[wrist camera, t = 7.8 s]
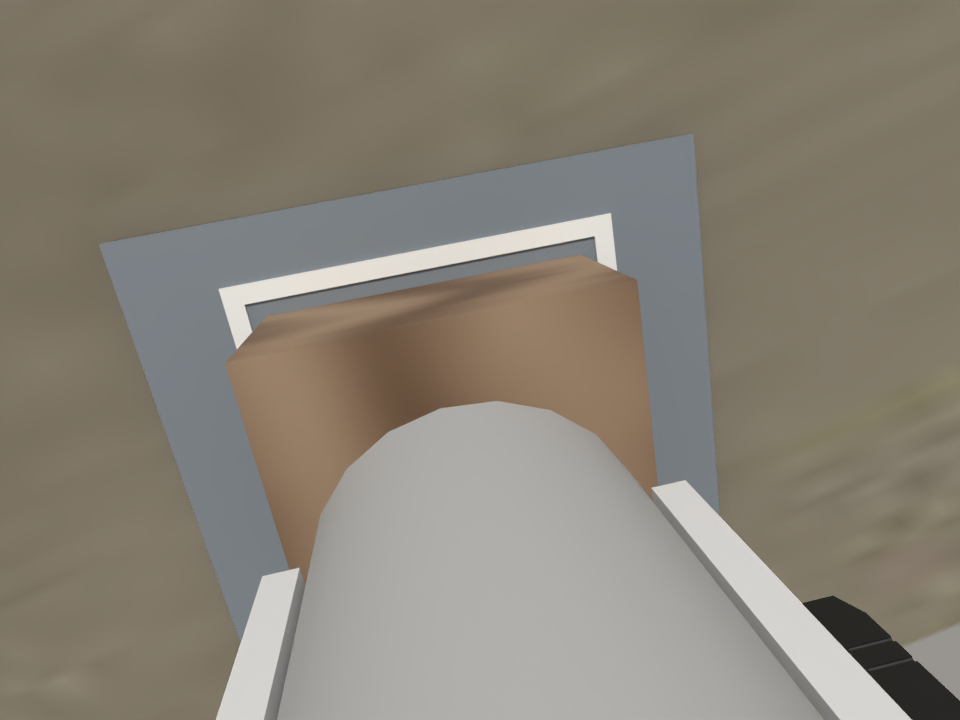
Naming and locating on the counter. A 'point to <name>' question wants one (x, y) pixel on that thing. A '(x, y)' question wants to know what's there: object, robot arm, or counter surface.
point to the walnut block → (438, 374)
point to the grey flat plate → (401, 265)
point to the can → (515, 589)
